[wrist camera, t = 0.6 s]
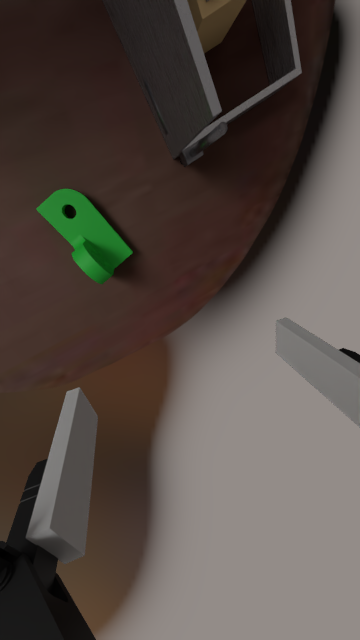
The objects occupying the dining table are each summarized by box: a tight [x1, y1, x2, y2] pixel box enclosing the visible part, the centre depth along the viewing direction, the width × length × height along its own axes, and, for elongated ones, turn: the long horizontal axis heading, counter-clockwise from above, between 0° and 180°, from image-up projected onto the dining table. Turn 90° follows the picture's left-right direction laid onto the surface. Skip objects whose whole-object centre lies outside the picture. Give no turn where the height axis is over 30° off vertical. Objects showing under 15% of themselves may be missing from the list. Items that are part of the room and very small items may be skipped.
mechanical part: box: [36, 189, 133, 284], centre depth 29 cm, size 12×6×8 cm, turn 37°
